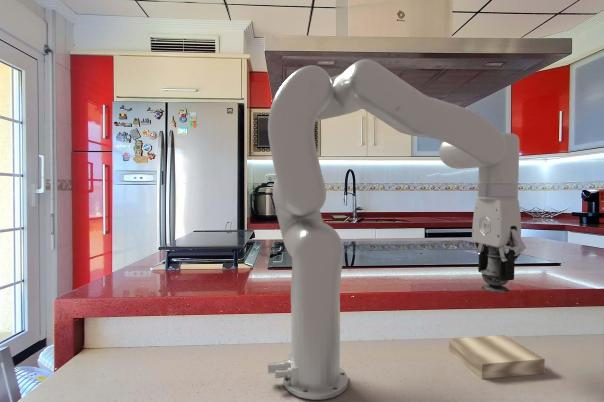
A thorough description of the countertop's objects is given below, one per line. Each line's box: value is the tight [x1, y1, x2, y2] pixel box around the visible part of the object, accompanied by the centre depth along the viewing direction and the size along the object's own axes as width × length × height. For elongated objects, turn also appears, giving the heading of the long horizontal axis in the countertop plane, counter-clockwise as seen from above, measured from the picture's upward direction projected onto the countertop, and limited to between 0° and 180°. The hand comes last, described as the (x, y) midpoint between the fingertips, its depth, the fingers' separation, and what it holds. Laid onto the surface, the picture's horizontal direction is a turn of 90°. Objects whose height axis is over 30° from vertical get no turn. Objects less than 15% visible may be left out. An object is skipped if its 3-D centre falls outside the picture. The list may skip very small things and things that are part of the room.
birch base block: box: [448, 334, 546, 380], centre depth 80 cm, size 14×12×3 cm
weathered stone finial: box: [479, 246, 510, 294], centre depth 79 cm, size 6×6×12 cm
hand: (495, 275), depth 79 cm, fingers closed on weathered stone finial, 5 cm apart
